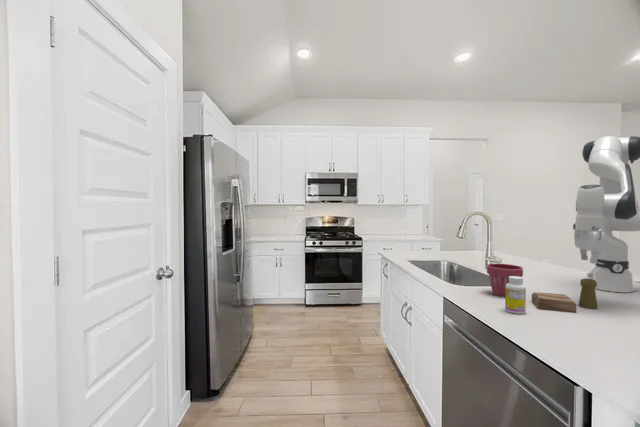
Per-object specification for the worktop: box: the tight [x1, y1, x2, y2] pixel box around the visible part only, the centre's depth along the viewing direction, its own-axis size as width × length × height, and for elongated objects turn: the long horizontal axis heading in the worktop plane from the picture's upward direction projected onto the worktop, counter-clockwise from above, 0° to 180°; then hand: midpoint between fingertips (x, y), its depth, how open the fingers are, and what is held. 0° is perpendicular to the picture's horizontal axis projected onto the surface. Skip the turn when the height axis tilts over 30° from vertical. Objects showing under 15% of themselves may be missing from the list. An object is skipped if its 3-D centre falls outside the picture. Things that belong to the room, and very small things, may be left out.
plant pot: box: [486, 263, 524, 298], centre depth 154 cm, size 14×14×13 cm
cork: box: [577, 277, 598, 310], centre depth 136 cm, size 6×6×11 cm
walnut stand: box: [531, 291, 578, 314], centre depth 136 cm, size 12×12×4 cm
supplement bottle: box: [504, 276, 527, 315], centre depth 128 cm, size 7×7×13 cm
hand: (588, 261), depth 135 cm, fingers open, 8 cm apart
